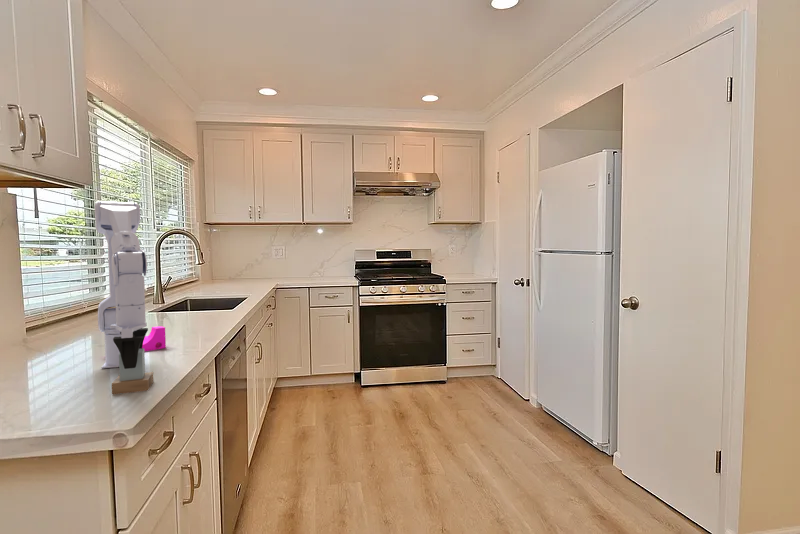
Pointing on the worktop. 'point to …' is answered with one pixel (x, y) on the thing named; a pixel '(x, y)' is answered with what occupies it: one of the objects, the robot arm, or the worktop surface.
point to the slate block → (133, 372)
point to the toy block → (155, 339)
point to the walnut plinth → (132, 384)
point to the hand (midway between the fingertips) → (132, 364)
